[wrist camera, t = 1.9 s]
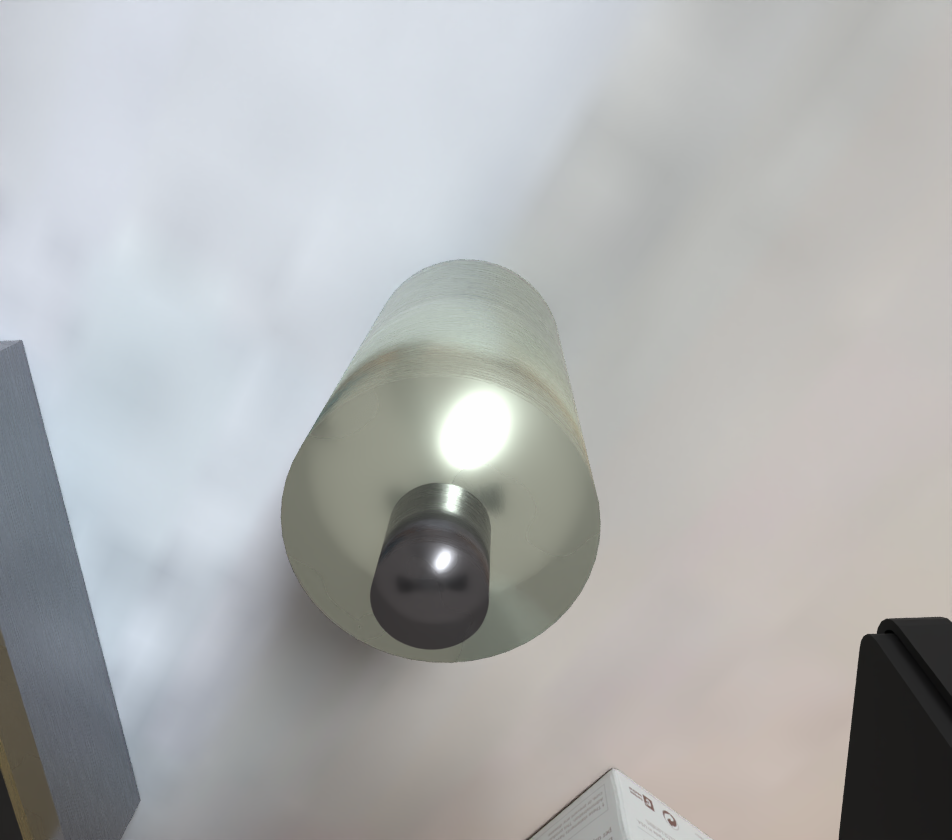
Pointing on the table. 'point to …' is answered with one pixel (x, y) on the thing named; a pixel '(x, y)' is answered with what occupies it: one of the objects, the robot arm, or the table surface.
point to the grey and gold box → (50, 646)
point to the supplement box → (618, 815)
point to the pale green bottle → (447, 475)
